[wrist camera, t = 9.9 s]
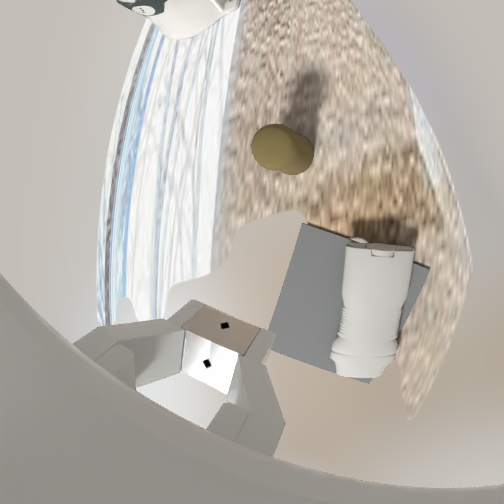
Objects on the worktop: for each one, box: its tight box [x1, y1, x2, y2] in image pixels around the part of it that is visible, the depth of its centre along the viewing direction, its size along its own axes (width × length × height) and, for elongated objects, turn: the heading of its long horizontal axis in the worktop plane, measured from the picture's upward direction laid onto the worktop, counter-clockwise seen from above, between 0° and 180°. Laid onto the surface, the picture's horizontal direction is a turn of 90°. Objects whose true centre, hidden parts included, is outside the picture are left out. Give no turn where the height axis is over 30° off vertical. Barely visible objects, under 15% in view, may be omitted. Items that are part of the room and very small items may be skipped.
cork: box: [251, 124, 314, 175], centre depth 33 cm, size 6×6×11 cm
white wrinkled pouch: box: [330, 243, 415, 378], centre depth 38 cm, size 11×4×22 cm
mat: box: [268, 223, 430, 384], centre depth 41 cm, size 22×20×1 cm
